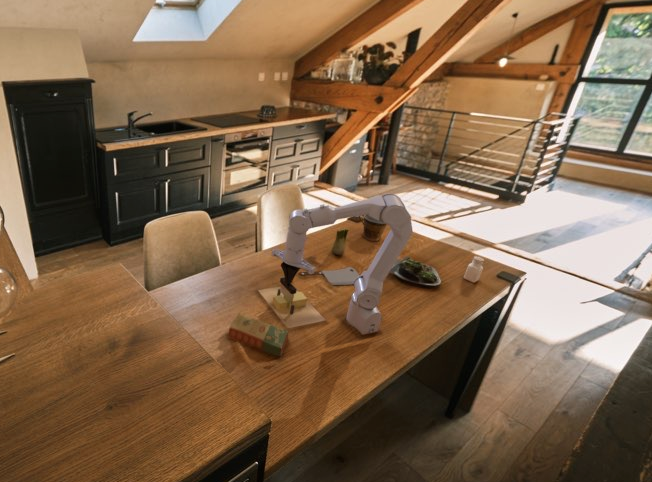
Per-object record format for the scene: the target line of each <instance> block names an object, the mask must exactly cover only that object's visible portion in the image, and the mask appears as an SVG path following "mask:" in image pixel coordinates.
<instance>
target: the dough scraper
mask: <svg viewBox="0 0 652 482" xmlns="http://www.w3.org/2000/svg"><path fill="white" fill-rule="evenodd" d="M279 283H280V286H281V289H280V292H281V293H282V294H283V295H284V296H285V297H286V299H287V300H288V301H289V302H290V303H291V304H292V303H293V297H294V294H296V291H297V290H298V289H297V288H296V287H295V286H294V285H293V283H290V284H287V283H285V276H284V277H280V279H279Z"/></svg>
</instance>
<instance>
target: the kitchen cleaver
mask: <svg viewBox="0 0 652 482" xmlns="http://www.w3.org/2000/svg"><path fill="white" fill-rule="evenodd" d="M298 275H299V276H301V277H305V276H316V275H317V276H319V275H320V276H322V277H323V278H324V279H326V280H327V282H329V283H330V284H331V285H332V286H350V285H354V280H355V279H356V278H357V277H359V276H360V275H361V274H360V273H359V272H358V271H357V270H356V269H355V268H354V267H352V266H347V267H345V268H340V269H334V270H320V271H319V270H318V271H314V273H313V274H311V275H310V274H308V272H307V271H300V272H299V271H298Z"/></svg>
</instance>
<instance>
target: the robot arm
mask: <svg viewBox="0 0 652 482" xmlns="http://www.w3.org/2000/svg"><path fill="white" fill-rule="evenodd" d="M362 215H368V216H370V217H372V218H374V219H376V220H379V218H380V217H382V219H383V221H384V222H385V223H386V224H387V226H388V227H389V228H390V230H389V232H388V234H387V235H386V237H385V239H384V241H383V242H382V244H381V246H380V248H379V249H378V251H377V253H376V255H375V256H374V258H373V259H372V261H371V263H370V265H369V266H368V268H367V269H366V270H363V271H362V272H361V274H359V275H360V276H359V277H357V278H356V279H355V280H354V284H353V288H354V292H352V294H351V297H350V301H349V305H348V309H347V313H346V318H345V320H346V321H347V323H348V324H349V325H350V326H351V327H353V328H355V329H356V330H357V331H358V332H359V333H360V334H361V335H362V336H364V335H367V334H372V333H376V332H379V330H380V327H381V323H382V319H383V314H382V313H381V311H379V309H378V306H379V304H380V302H381V300H380V297H381V295H382V293H383V287H384V282H385V280H386V278H387V277H388V275H389V274H390V270H391V268H392V267H393V265H394V263H395V262H396V260H397V259H399V257H400V255H401V253H402V252H403V250H404V249H405V248H406V246H407V244H408V242H409V241H410V239H411V237H412V236H413V233H414V231H413V226H412V225H413V224H412V216H411V214H410V212H409V211H408V210H407V208H406V205H405V203H404V202H403V201H402V199H401V198H400V197H399V196H398V195H397V194H395V193H391V192H390V193H389V192H388V193H384V194H382V195H381V194H378V195H377V194H376V195H374V196H372V197H370V198H366V199H363V200H362V199H361V200H359V201H354V202H352V203H351V202H350V203H348V204H347V203H346V204H344V205H339V206H336V207H333V206H332V205H330V204H327V205H325V203H324V204H320V205H319V206H318V207H315V208H313V207H312V208H303V209H295V210H293V211H292V212H291V213H290V214H289V222H288V225H289V226H288V229H287V230H288V231H287V234H286V240H285V246H284V250H280V249H277V248H274V249H272V250H271V255H270V256H271V257H276V258H278V259H280V260H281V261H282V262H281V264H280V268H281V269H282V272H283V276H284V277H285V283H287V284H290V283H291V284H293V281H294V279H295V277H296V275H297V273H299V271H300V270H302V271H304V272H308V274H310V275H309V276H312V275H311V274H313V273H314V272H315V269H316V267H315V266H313V265H312V264H310V263H309V262H308V261H307V260H305V259H304V258H303V257H304V253H305V246H306V240H307V232H308V231H309V230H310V229H314V228H320V227H325V226H329V225H334V224H335V223H336V222H337V220H340V219H347V218H354V217H359V216H360V217H363V216H362Z"/></svg>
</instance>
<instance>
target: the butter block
mask: <svg viewBox="0 0 652 482" xmlns="http://www.w3.org/2000/svg"><path fill="white" fill-rule="evenodd" d="M284 299H285V300H286V301H287V307H288V308H289V309H291V303H290V302H289V301H288V300H287V299H286V297H285V296H284ZM307 301H308V297H307V296H306V295H305V294H304V293H303V292H302V291H299V292H296V294H294V297H293V303H292V304H294V305H295V307H294V308H296V307H301V306H306V304H307Z"/></svg>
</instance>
